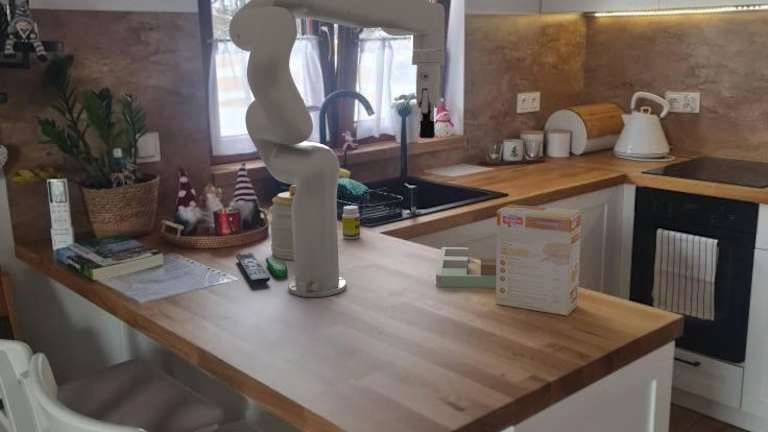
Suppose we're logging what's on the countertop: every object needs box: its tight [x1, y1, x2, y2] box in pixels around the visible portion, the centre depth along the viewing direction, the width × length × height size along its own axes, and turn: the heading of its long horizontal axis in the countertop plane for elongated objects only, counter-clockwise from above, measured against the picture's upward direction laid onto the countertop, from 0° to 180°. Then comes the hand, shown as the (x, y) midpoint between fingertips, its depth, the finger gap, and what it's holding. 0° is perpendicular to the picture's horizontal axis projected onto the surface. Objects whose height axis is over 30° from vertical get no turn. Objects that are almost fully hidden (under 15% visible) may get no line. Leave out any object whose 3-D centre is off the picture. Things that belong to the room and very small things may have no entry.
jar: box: [268, 184, 297, 261], centre depth 190 cm, size 13×13×18 cm
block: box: [480, 257, 496, 275], centre depth 165 cm, size 5×5×5 cm
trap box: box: [435, 246, 496, 289], centre depth 174 cm, size 23×18×2 cm
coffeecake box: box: [495, 204, 582, 317], centre depth 149 cm, size 15×7×20 cm, turn 59°
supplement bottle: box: [341, 205, 361, 240], centre depth 206 cm, size 5×5×8 cm
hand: (427, 137), depth 179 cm, fingers closed
